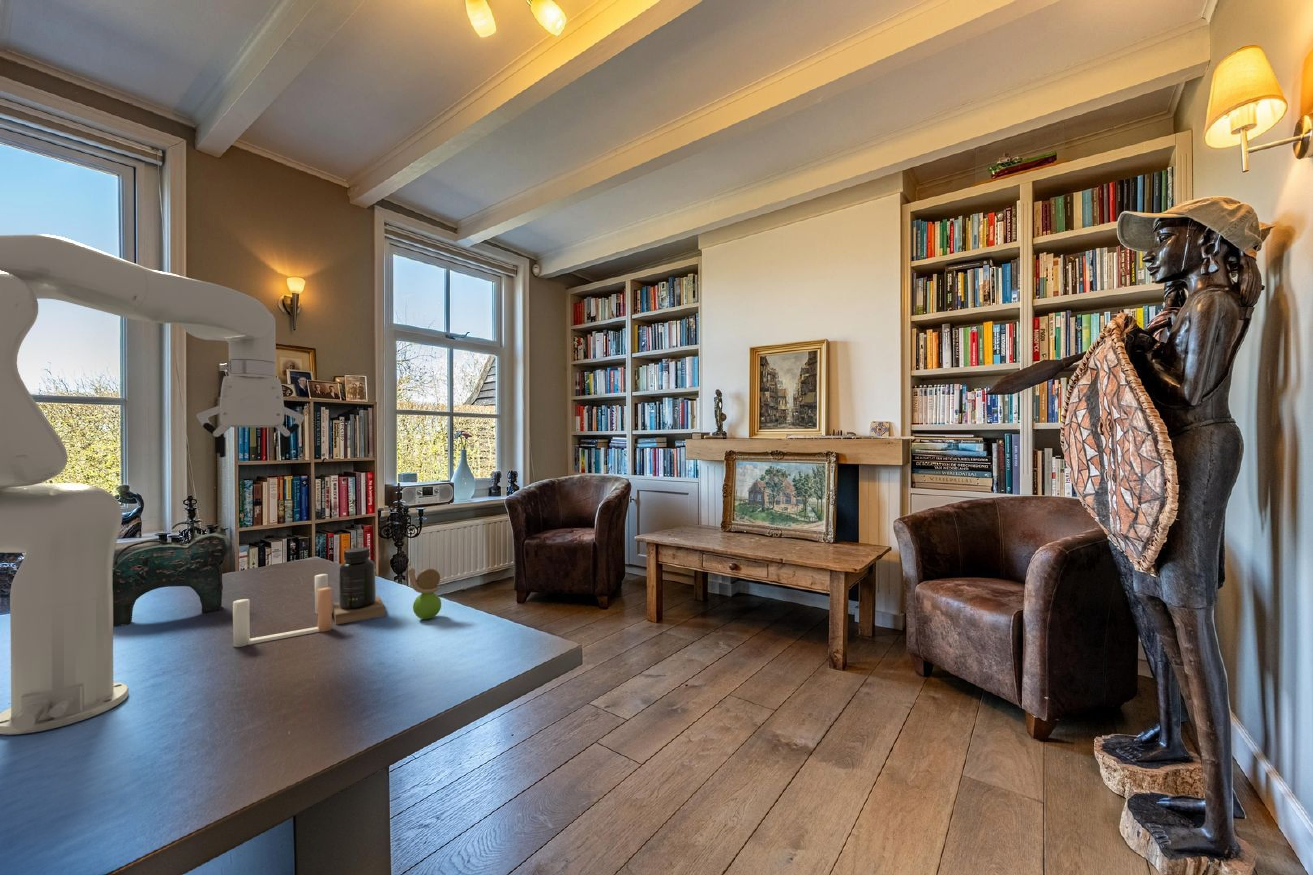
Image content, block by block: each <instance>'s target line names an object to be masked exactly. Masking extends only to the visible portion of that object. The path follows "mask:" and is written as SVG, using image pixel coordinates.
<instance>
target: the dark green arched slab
mask: <svg viewBox="0 0 1313 875" xmlns="http://www.w3.org/2000/svg"><path fill="white" fill-rule="evenodd" d="M180 525H189V526H190V527H192V530H193V532H192V536H191V537H190V539H188V540H186V541H182V542H172V541H169V542H168V541H165V540H164V541H163V540H156V539H155V540H154V539H153V540H151V539H150V540H144V541H140V542H136V543H133V544H130V545H127V546H126V547H124V548H123V549H121V551H120V552H119V553H118V554H117V555H116V557H115V558H114V561H113V628H114V627H121V626H127V625H130V624H131V623H132V621H133V612H134V611H133V610H134V607H135V606H134V605H135V603H136V601H137V600H138V599H139V598H140V597H142V596H143V595H145V594H146V593H149V592H151V591H153V590H157V589H160V588H166V587H168V588H170V587H187V588H188V587H189V588H190V589H192V590H194V591H195V593H196V594H197V596H198V598H199V601H200V603H201V613H202V614H204V613H209V612H214V611H221V609H222V602H223V601H222V600H223V588H224V586H223V570H222V568H221V566H220V563H221V561H223V560H224V559H225V558H226V557H227V555H228V554H229V553H230V551H231V549H232V548H231V547H232V541H231V539H230V537H229V536H227V533H226V530H225V528H224V527H223V526H221V527H219V528H218V529H217V530H216V531H215V532H213V533H208V534H199V533H196V531H195V526H194V525H193V524H192V523H190V522H188V521H182V522H181V521H179V522H178V523H176V524H175V525H173V526H172V527H171V530H174V528H176V527H177V526H180ZM146 543H160V544H159V545H154V546H148V547H143V548H141V549H137V550H135V551H132V552H130V553H128V554H127V555H125V556H124V557H123V558H122V559H121V560H119V561H118V559H119V557H120V556H121V555H122V554H124V552H125V551H127V550H129V549H130V548H133V547H135V546H139V545H144V544H146Z"/></svg>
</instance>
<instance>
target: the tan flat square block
mask: <svg viewBox="0 0 1313 875" xmlns="http://www.w3.org/2000/svg"><path fill="white" fill-rule="evenodd" d="M332 616H333V619H334V623H335V625H342V624H346V623H348V624H349V623H353V622H358V621H364V620H368V619H375V618H381V617H385V616H386V606H385V604H384V602H383V600H382V599H381V596H376V601H375V603H374V604H373V605H371V606H368V607H365V608H361V609H354V610H346V609H342V608H341V607H340V602H335V603H333V602H332Z"/></svg>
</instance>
